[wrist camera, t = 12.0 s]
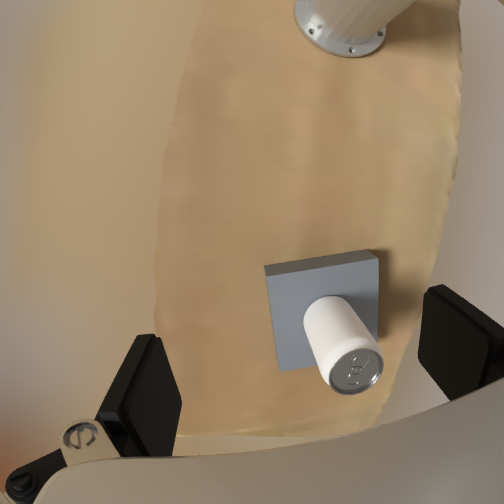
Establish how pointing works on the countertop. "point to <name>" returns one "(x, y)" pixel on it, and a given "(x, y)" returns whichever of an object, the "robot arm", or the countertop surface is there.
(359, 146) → the countertop surface
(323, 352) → the can
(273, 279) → the base block
